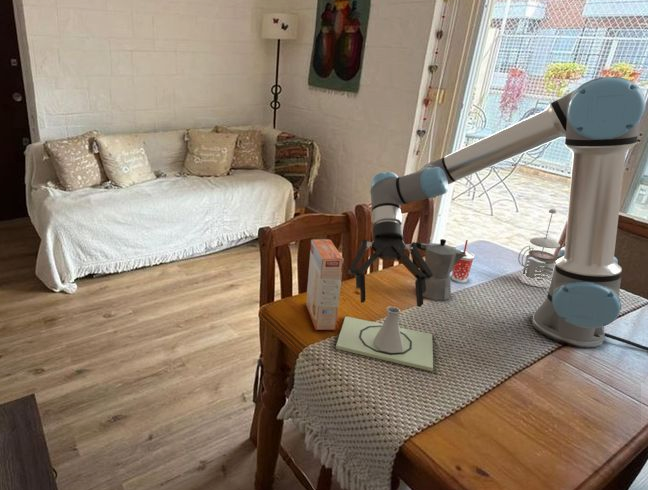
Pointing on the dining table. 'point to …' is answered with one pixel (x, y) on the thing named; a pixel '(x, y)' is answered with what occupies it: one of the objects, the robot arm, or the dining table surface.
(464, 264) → the beverage cup
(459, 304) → the dining table surface
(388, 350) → the flask
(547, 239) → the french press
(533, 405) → the dining table surface
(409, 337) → the drawing board
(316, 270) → the cracker box
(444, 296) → the coffeepot
